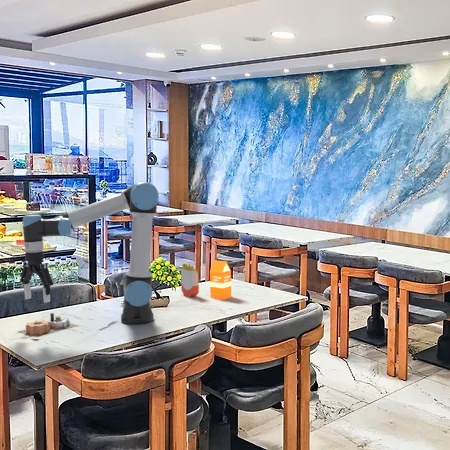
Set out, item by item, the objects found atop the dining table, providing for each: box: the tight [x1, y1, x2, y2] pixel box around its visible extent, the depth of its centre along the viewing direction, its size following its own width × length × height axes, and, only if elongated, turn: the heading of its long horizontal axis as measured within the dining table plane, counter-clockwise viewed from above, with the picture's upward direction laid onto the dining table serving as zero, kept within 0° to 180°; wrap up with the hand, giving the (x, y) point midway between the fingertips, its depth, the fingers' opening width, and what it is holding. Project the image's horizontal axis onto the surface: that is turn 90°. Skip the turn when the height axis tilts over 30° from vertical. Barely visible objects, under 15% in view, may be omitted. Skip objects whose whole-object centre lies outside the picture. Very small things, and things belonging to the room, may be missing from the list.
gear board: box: [17, 316, 79, 342], centre depth 251 cm, size 14×22×6 cm, turn 143°
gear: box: [46, 312, 71, 329], centre depth 255 cm, size 10×10×6 cm
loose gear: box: [25, 319, 50, 335], centre depth 247 cm, size 10×10×4 cm
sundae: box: [117, 277, 124, 302], centre depth 305 cm, size 7×7×15 cm
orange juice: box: [209, 259, 232, 300], centre depth 315 cm, size 8×9×20 cm
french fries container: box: [180, 263, 200, 298], centre depth 319 cm, size 5×11×18 cm, turn 39°
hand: (37, 300), depth 246 cm, fingers open, 13 cm apart
